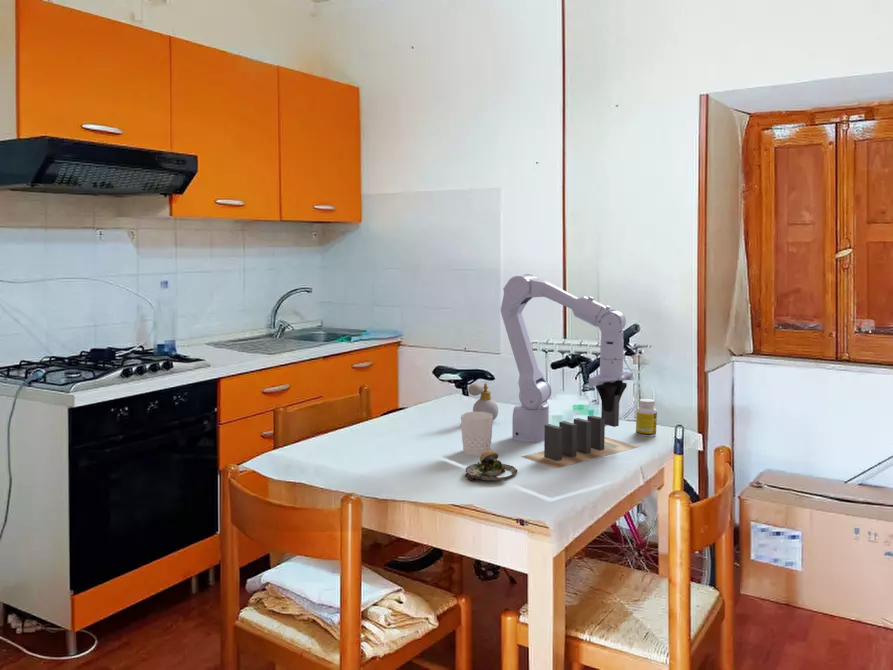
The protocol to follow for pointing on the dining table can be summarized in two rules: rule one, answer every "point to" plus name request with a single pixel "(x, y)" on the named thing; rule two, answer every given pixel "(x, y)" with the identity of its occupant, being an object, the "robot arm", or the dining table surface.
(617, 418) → the domino
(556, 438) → the domino
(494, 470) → the burger
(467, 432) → the white cup
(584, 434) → the domino
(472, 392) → the perfume bottle
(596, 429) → the domino
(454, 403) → the dining table surface
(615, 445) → the oak board
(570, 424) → the domino
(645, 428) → the supplement bottle
